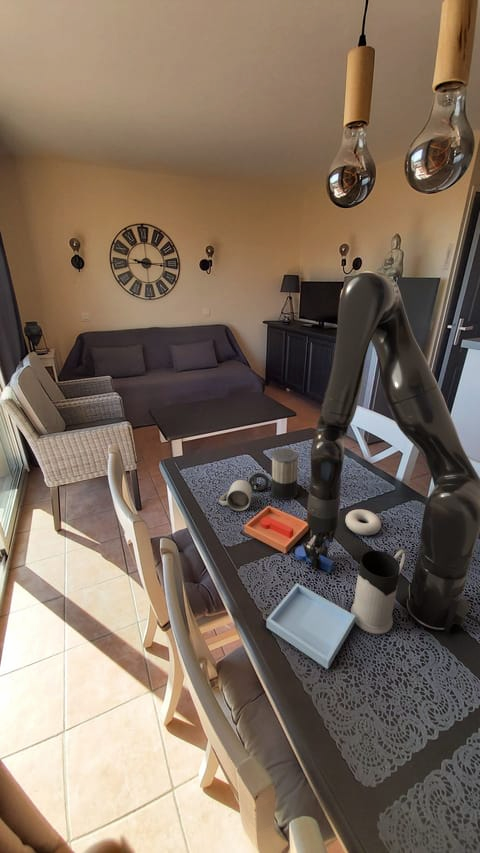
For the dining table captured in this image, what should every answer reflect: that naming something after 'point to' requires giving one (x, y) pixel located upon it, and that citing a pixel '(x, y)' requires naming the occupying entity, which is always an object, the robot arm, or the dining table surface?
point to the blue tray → (311, 624)
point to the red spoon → (276, 526)
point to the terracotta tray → (272, 536)
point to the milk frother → (280, 474)
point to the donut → (363, 528)
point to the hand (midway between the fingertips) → (319, 562)
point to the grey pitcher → (376, 590)
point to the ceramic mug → (238, 496)
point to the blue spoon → (301, 555)
